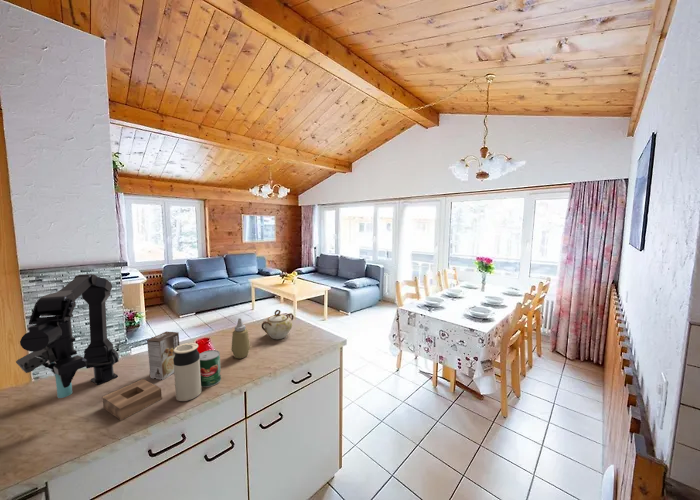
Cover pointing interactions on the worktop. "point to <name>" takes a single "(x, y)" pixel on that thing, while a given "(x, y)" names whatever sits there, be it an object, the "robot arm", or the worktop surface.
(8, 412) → the worktop surface
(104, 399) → the socket block
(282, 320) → the sugar bowl
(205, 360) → the canned tomato
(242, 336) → the squeeze bottle
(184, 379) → the travel mug
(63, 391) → the peg
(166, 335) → the coffee box
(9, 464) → the worktop surface
